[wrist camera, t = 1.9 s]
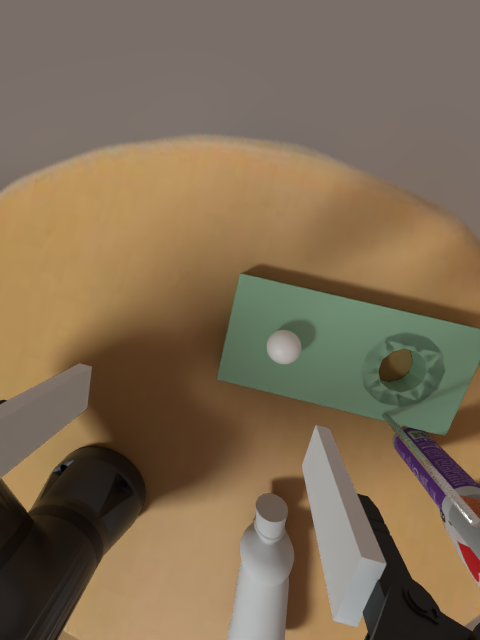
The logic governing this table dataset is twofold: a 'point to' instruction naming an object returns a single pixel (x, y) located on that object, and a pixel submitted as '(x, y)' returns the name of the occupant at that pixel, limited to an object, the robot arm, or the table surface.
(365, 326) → the green
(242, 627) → the bottle
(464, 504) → the flag pin
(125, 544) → the table surface
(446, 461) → the container
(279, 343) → the ball
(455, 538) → the cup
